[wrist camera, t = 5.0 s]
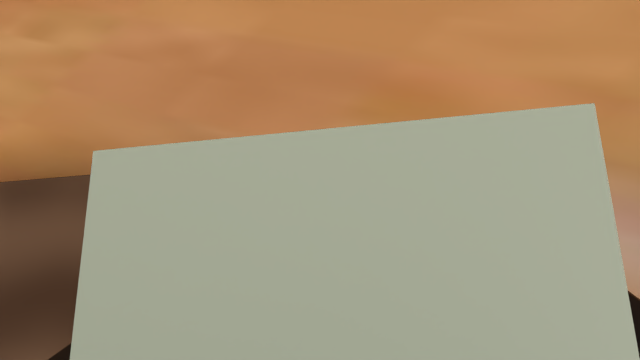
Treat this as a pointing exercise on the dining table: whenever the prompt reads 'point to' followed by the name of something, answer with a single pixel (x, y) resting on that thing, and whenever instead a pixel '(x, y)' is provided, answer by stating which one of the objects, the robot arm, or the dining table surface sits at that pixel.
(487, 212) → the sage block
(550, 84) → the dining table surface
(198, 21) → the dining table surface
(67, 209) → the walnut base block
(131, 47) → the dining table surface
